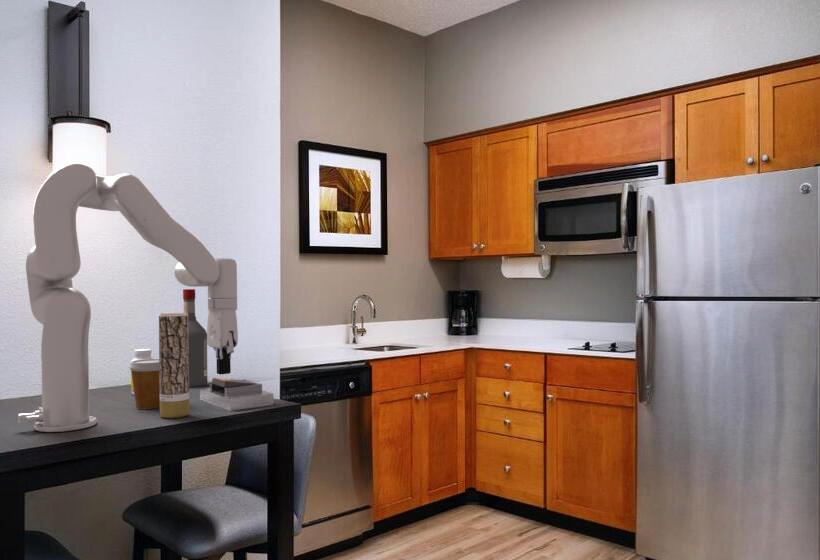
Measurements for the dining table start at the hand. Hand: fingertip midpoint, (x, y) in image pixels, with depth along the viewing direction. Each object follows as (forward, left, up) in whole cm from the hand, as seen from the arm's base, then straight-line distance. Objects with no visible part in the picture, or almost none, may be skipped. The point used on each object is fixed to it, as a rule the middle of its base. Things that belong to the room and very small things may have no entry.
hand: (223, 373), depth 178 cm
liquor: (+4, +36, -8) cm, 37 cm away
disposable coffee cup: (-17, +9, -8) cm, 21 cm away
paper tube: (-16, -7, -8) cm, 19 cm away
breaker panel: (+3, 0, -8) cm, 9 cm away
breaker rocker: (+3, 0, -3) cm, 5 cm away
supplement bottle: (-12, +30, -8) cm, 33 cm away
